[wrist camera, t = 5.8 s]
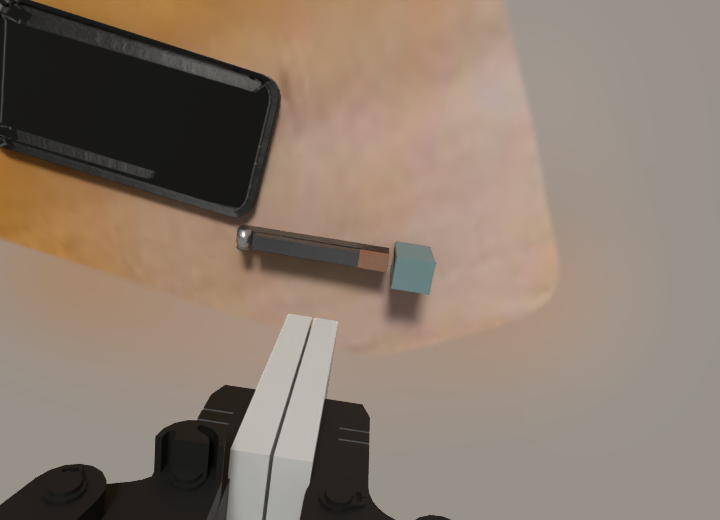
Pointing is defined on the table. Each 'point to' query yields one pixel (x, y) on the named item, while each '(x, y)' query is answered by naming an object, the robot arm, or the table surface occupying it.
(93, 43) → the phone
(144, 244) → the table surface
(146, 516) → the robot arm
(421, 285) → the teal matte cube
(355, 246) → the arm
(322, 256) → the bar
